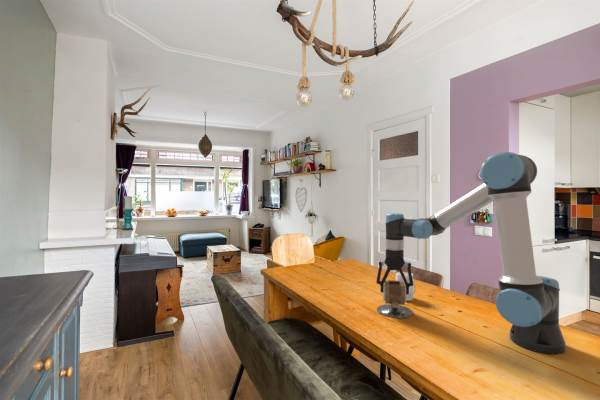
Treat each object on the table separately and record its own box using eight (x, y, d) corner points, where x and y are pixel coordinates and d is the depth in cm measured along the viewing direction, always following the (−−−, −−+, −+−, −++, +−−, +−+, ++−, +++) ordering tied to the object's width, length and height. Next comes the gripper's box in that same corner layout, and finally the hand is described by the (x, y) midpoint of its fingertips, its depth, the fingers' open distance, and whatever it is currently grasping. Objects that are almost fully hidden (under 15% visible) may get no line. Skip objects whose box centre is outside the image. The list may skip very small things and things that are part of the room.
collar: (384, 297, 140) (384, 279, 140) (403, 298, 138) (403, 280, 138) (385, 306, 128) (385, 287, 128) (405, 308, 126) (406, 288, 126)
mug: (421, 301, 147) (421, 276, 147) (406, 303, 144) (406, 278, 144) (406, 294, 158) (406, 271, 158) (391, 295, 156) (391, 272, 155)
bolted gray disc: (375, 304, 144) (375, 284, 143) (408, 305, 141) (408, 285, 141) (378, 316, 129) (378, 294, 129) (416, 318, 127) (416, 296, 126)
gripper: (418, 248, 136) (418, 299, 136) (370, 246, 141) (370, 296, 141) (421, 251, 129) (421, 305, 129) (370, 249, 133) (370, 301, 134)
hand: (394, 300), depth 135 cm, fingers closed on collar, 8 cm apart
